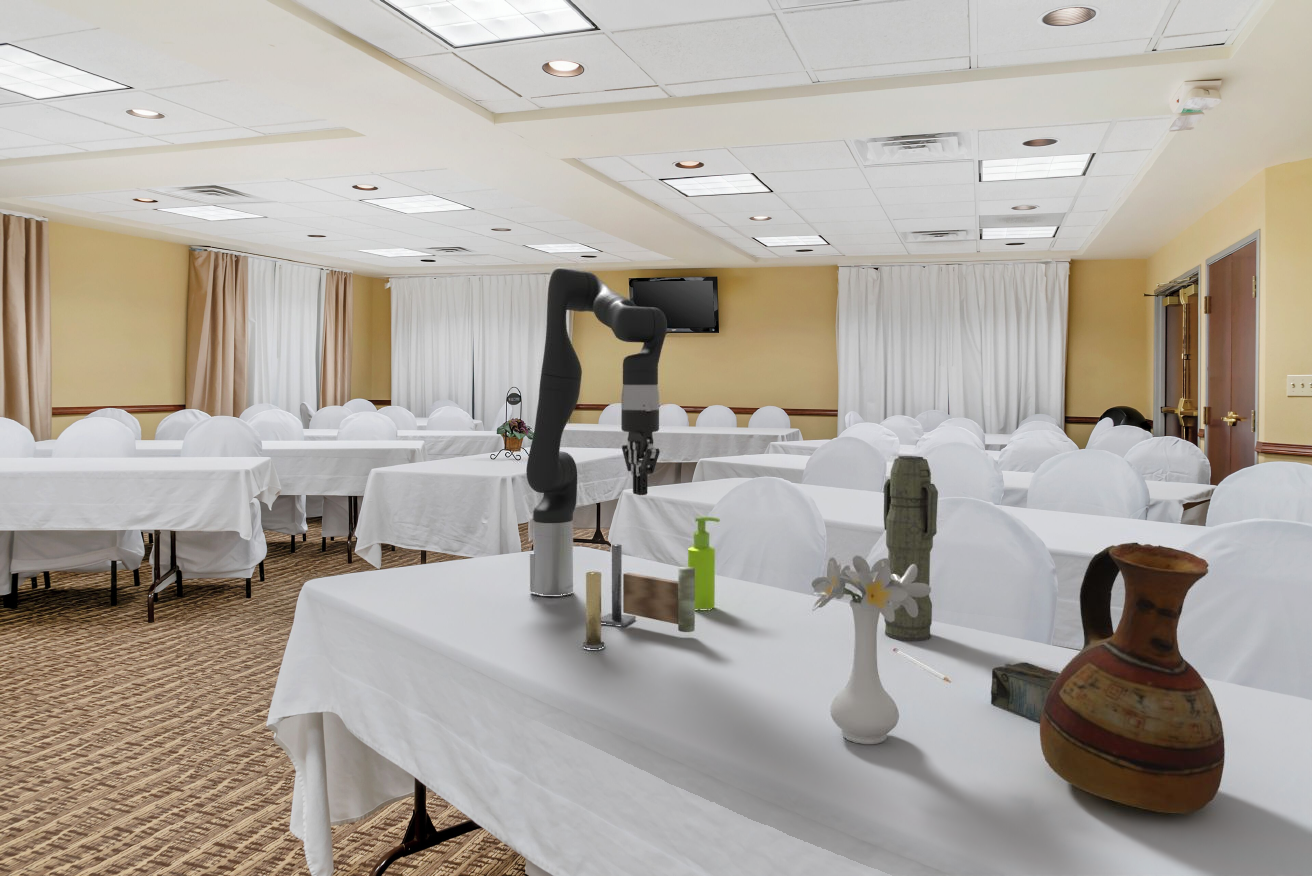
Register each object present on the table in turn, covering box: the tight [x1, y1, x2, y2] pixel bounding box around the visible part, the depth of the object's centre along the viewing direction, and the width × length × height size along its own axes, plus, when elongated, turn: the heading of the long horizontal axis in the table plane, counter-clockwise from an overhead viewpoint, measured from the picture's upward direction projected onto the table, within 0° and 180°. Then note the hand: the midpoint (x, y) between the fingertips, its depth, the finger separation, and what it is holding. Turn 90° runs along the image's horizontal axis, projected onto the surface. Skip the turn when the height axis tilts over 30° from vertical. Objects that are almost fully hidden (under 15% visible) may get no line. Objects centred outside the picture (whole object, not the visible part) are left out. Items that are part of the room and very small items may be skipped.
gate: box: [622, 566, 696, 633], centre depth 177 cm, size 17×3×12 cm, turn 51°
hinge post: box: [601, 543, 637, 627], centre depth 184 cm, size 6×6×16 cm
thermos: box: [883, 455, 939, 642], centre depth 174 cm, size 9×12×35 cm
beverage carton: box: [990, 662, 1061, 724], centre depth 130 cm, size 8×19×7 cm, turn 28°
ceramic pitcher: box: [1039, 542, 1226, 814], centre depth 107 cm, size 20×20×30 cm
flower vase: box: [811, 555, 932, 745], centre depth 124 cm, size 13×18×25 cm
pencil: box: [892, 647, 952, 683], centre depth 156 cm, size 1×19×1 cm, turn 14°
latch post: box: [582, 571, 605, 649], centre depth 166 cm, size 4×4×14 cm
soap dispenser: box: [687, 516, 721, 610], centre depth 196 cm, size 6×7×20 cm
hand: (640, 494), depth 179 cm, fingers closed
